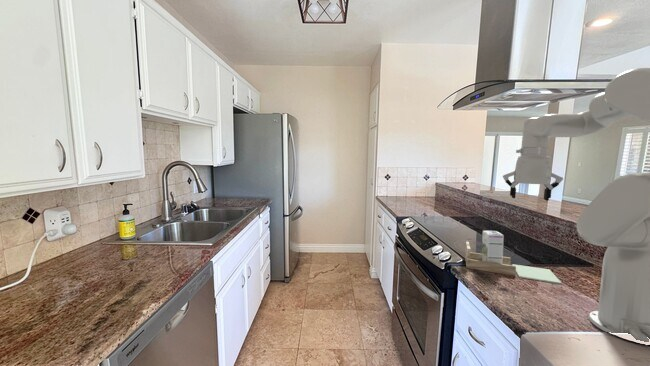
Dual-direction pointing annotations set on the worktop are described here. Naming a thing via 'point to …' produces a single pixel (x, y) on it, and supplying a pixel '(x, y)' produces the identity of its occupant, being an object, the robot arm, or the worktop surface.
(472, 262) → the frame
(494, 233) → the syrup box
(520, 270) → the mat
